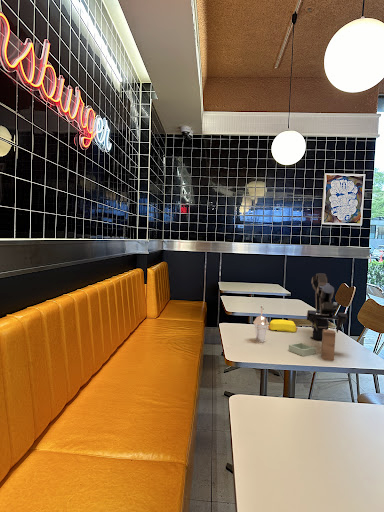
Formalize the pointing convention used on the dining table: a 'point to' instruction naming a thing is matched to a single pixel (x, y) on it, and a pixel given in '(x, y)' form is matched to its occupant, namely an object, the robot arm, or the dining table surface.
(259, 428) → the dining table surface
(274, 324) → the yellow rounded block
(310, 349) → the green holder
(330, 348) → the walnut block
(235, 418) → the dining table surface
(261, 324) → the cup with straw
